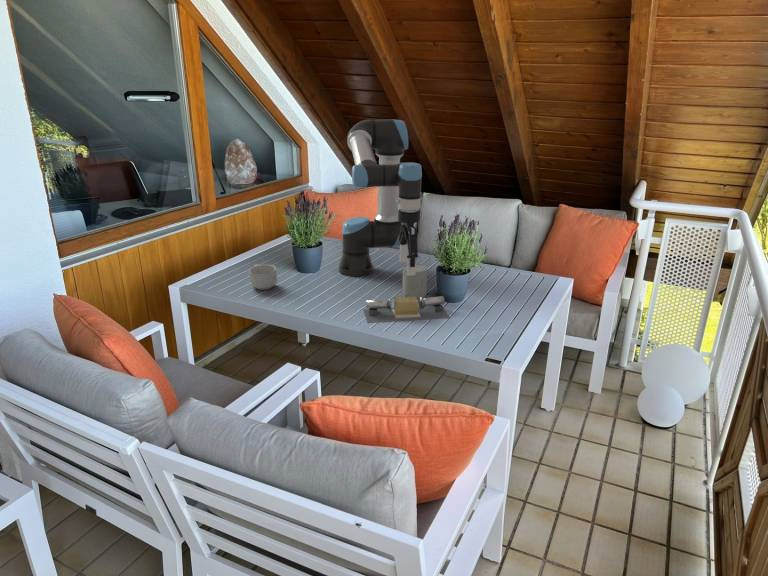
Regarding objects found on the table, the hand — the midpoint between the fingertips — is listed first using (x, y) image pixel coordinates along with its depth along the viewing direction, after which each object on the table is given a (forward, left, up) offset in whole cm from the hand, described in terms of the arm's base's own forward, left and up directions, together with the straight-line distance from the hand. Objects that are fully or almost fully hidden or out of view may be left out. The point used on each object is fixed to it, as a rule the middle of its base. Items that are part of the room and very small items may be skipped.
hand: (407, 268), depth 204 cm
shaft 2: (-1, +10, -17) cm, 20 cm away
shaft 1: (-1, -10, -17) cm, 20 cm away
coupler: (0, 0, -17) cm, 17 cm away
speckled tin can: (-18, +7, -19) cm, 27 cm away
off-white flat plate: (0, 0, -17) cm, 17 cm away
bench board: (0, 0, -19) cm, 19 cm away
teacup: (-38, -52, -19) cm, 67 cm away
